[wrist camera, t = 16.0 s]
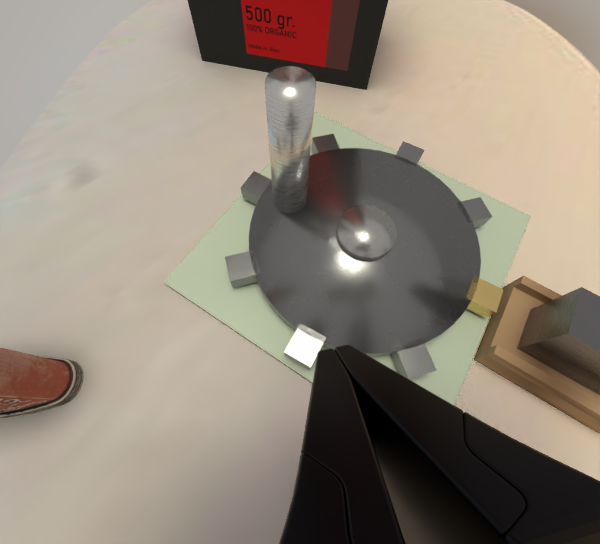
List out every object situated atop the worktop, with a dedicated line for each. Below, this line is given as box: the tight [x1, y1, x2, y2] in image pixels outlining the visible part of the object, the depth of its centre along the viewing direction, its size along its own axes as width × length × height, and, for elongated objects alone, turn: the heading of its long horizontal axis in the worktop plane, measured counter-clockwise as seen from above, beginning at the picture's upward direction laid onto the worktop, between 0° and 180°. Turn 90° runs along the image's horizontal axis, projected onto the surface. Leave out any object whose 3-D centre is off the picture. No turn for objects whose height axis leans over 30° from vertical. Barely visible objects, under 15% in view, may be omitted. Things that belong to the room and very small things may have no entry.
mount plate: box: [164, 112, 531, 405], centre depth 24 cm, size 20×20×1 cm
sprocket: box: [225, 66, 503, 379], centre depth 19 cm, size 19×19×10 cm
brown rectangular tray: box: [474, 276, 600, 433], centre depth 20 cm, size 8×6×2 cm
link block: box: [517, 287, 600, 395], centre depth 18 cm, size 5×3×4 cm, turn 57°
